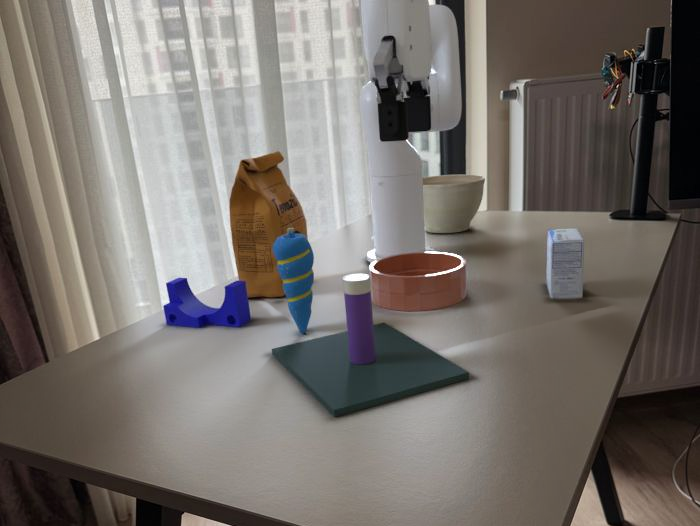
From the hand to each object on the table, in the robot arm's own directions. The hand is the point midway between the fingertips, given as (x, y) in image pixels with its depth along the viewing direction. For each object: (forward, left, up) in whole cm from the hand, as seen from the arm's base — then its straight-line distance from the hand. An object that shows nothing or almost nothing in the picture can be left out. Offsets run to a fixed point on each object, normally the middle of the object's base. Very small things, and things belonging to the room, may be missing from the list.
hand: (406, 135), depth 76 cm
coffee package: (-31, -9, -25) cm, 41 cm away
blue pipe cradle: (-22, -23, -25) cm, 40 cm away
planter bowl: (-51, +37, -25) cm, 68 cm away
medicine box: (-1, +25, -25) cm, 35 cm away
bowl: (-12, +7, -25) cm, 28 cm away
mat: (+6, -11, -25) cm, 27 cm away
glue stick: (+6, -11, -24) cm, 27 cm away
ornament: (-9, -13, -25) cm, 29 cm away
